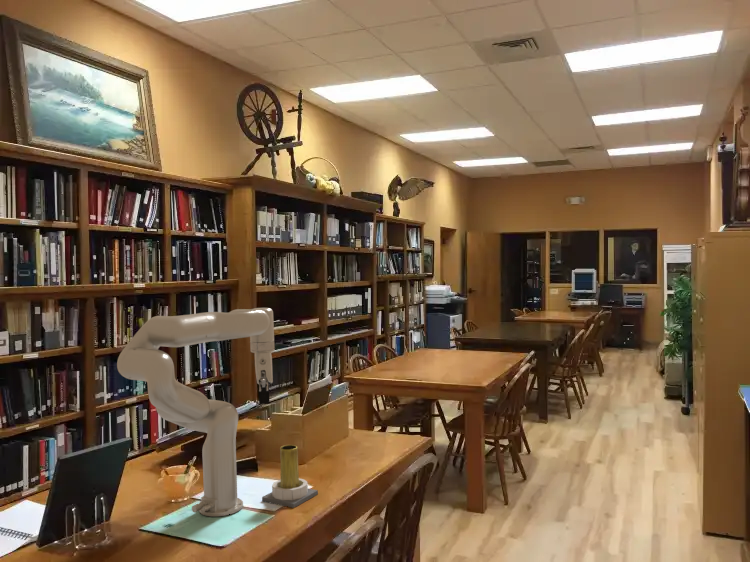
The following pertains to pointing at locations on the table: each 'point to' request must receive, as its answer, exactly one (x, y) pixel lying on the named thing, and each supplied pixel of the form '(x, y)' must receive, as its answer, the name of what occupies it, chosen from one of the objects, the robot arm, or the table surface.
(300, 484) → the mount
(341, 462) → the table surface
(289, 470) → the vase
